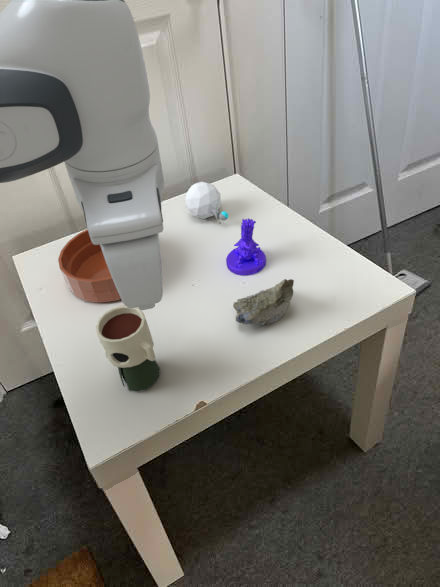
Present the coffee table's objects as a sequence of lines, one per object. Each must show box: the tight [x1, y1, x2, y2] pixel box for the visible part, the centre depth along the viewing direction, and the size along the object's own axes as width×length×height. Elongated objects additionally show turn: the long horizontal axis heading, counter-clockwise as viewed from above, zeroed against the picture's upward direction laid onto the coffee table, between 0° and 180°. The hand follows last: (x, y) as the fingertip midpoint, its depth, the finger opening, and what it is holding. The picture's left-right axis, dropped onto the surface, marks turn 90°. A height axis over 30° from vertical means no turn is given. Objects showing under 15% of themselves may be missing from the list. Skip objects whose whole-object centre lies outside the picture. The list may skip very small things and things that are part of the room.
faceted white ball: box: [184, 181, 229, 221], centre depth 101 cm, size 8×8×12 cm
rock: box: [232, 278, 295, 328], centre depth 78 cm, size 11×6×10 cm
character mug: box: [95, 304, 161, 393], centre depth 69 cm, size 11×7×13 cm, turn 52°
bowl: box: [57, 229, 121, 303], centre depth 91 cm, size 18×18×6 cm
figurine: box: [225, 217, 267, 277], centre depth 88 cm, size 8×8×10 cm
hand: (141, 277), depth 55 cm, fingers open, 8 cm apart
